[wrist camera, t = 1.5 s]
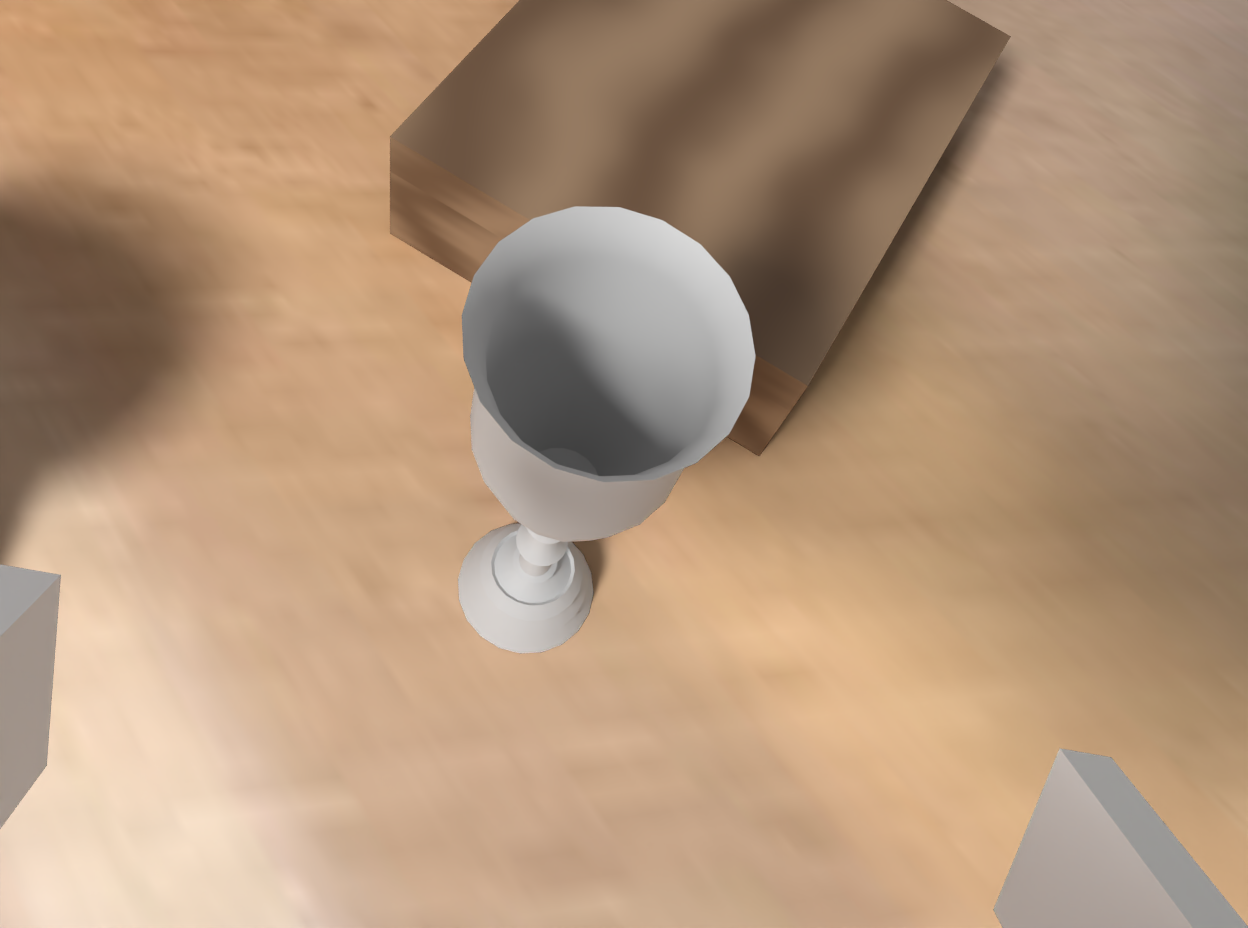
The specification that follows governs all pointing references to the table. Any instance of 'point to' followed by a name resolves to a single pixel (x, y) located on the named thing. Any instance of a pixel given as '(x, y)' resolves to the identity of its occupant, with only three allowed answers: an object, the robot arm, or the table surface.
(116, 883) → the table surface
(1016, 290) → the table surface
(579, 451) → the chalice
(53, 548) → the table surface
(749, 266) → the walnut shelf
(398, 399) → the table surface
